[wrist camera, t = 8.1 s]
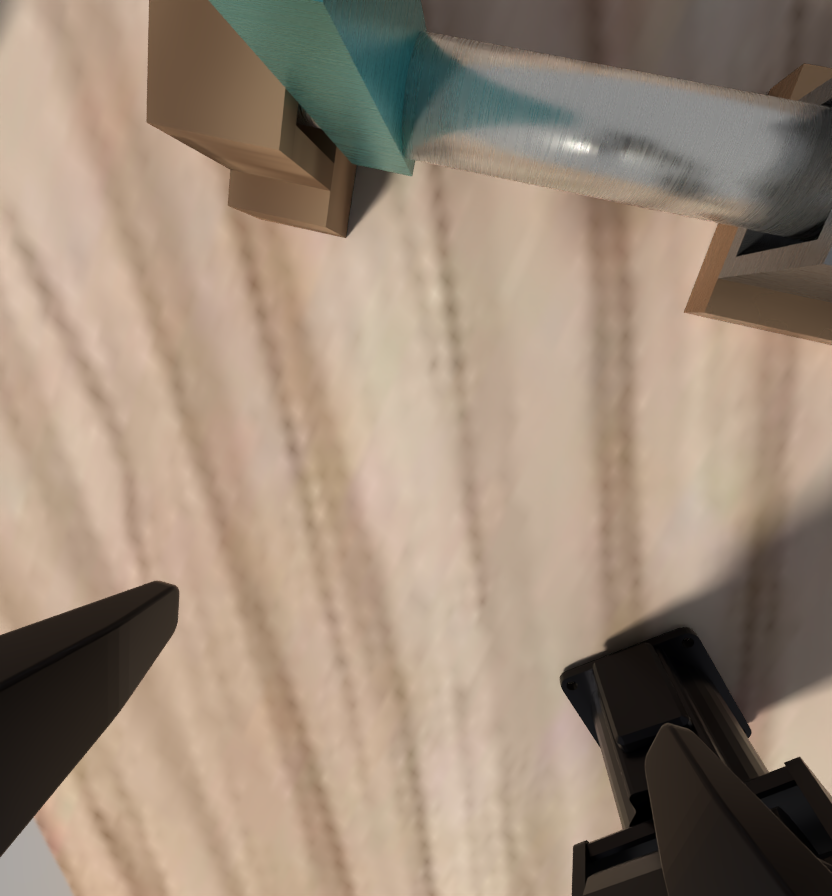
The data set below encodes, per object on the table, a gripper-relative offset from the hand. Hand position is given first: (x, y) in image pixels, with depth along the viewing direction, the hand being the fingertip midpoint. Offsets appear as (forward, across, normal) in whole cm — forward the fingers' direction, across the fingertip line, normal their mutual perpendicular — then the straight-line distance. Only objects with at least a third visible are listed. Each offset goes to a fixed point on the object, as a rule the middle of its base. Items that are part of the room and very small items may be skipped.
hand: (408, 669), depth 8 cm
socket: (+12, +8, -11) cm, 18 cm away
